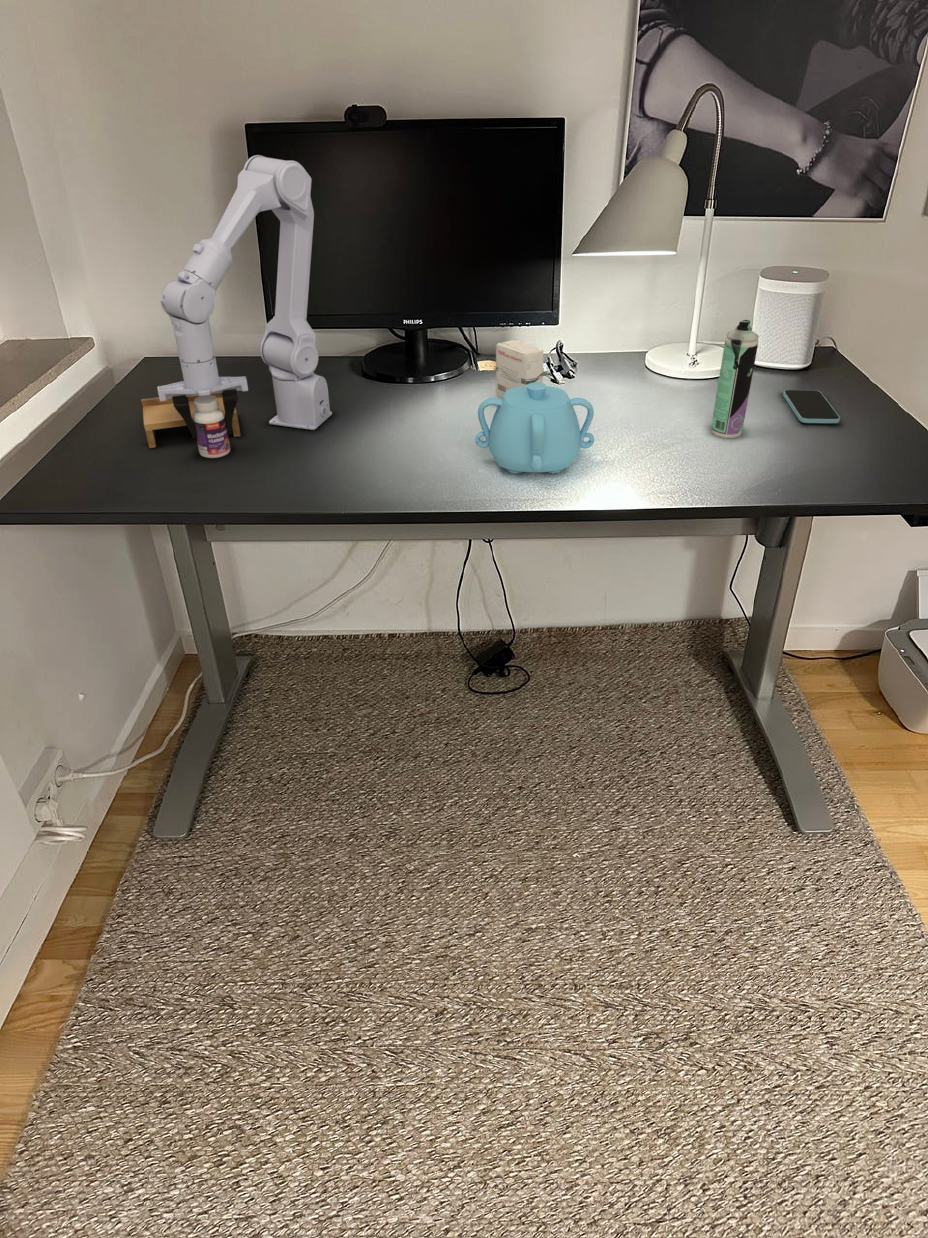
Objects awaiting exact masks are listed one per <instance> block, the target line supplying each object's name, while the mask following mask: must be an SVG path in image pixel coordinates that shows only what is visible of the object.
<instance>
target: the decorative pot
mask: <svg viewBox="0 0 928 1238" xmlns="http://www.w3.org/2000/svg"><path fill="white" fill-rule="evenodd" d="M490 406H497V407H496V409H495V411H494V414H493V416H492V419H491V423H490V428H489V425H488V424H487V421H486V416H485V409H486V408H487V407H490ZM574 406H581V407H584V408H585V409H586V410H587V413H586V417H585V419H584V420H585V421H584V422H583V424H582V426H581V427H580V422H579V419H578V415H577V413H576V410H575V408H574ZM594 415H595V411H594V407H593V404H592V403H591V402H590V401H589V400H587V399H585V398H583V397H573V398H570V397H569V395H568V393H567V392H566V391H565V390H564V389H562V388H559V387H555V386H547V384H545V383H544V382H543V383H539V382H533V383H530V384H528V385H527V386H522V387H515V388H511V389H509V390H507V391H506V392H505V394H504V395H503V397H502V399H499V398H496V397H490V398H486V399H485V400H483V401H482V402H481V403H480V404H479V405H478V409H477V418H478V421H479V425H480V427H481V430H482V431H479V432H478V433H476V435H475V437H474V438H475V439H474V441H475V444H476V445H477V446H478V447H480V448H482V449H487V448H488V449H489V452H490V454H491V456H492V458H493V459H494V461H495V462H496V464H497V465H498V466H500V467H501V468H503V469H506V470H507V472H509V473H511V474H520V473H523V472H524V473H549V474H559V473H561V472H562V470H564V469H568V468H569V467H571V466H572V465H573V463H575V461H576V459H577V458H578V457H579V455H580V453H581V449H589V448H592V446H593V445H594V443H595V436H594V435H593V434H592V432H588V430H589V429H590V427H591V425H592V422H593V419H594ZM482 437H485V440H482V439H481V438H482ZM585 438H588V440H587V441H585Z"/></svg>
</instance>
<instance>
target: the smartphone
mask: <svg viewBox="0 0 928 1238" xmlns="http://www.w3.org/2000/svg"><path fill="white" fill-rule="evenodd" d="M782 397H783V398H784V399H785V402H787V404H788V405H789V407H790V409H791V410H792V412H793V413H794V415H795V416H796V418H797V420H798V421H799V422H800V423H804V424H839V423H840V420H841V416H840V415H839V414H838V413H837V411H836V409H834V407H833V406H832V405H831V403H830V402H829V401H828V399H827V398H826V396H825V395H824V394H823V393H822V391H820V390H816V389H812V390H811V389H785V390H783V394H782Z"/></svg>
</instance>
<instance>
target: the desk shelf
mask: <svg viewBox="0 0 928 1238" xmlns="http://www.w3.org/2000/svg"><path fill="white" fill-rule="evenodd" d="M210 395H211V396H215V397H217V398H218V402H219V408H220V409H222V410H223V411H224V414H225V410H224V404H223V399H222V393H214V394H210ZM205 396H206V395H205ZM197 397H200V396H198V395H197V396H189V397H188V401H189V407H190V412H191V416H192V420H193V413H194V412H195V411H196V409H195V406H194V399H196V398H197ZM140 401H141V405H142V417H143V419H142V420H143V427H144V431H145V436H146V440H147V444H148V448H149V449H152V448H154V449H155V448H157V440H156V430H163V429H171V428H178V427H185V426H187V424H186V423H185V421H184V419H183V418H182V417H181V415H180V414H179V413H178V411H177V410H176V409H175V407H174V405H173V400H172V399H167V400H166V401H160V399H159V396H157V397H156V396H155V397H149V398H141V400H140ZM187 427H188V426H187ZM232 435H233V438H236V437H241V430H240V424H239V419H238V413H237V409H236V407H235V410H234V414H233V419H232Z"/></svg>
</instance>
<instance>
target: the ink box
mask: <svg viewBox="0 0 928 1238" xmlns="http://www.w3.org/2000/svg"><path fill="white" fill-rule="evenodd" d="M543 379H544V349H541V348H538V347H536V346H533V345H531V344H527V343H525V342H521V341H520V340H516V339H511V340H508V341H503V342H498V343H497V344H495V398H499V399H502V397H503V395H504V394H505V392H506V391H507V390H509V389H511V388H515V387H522V386H527V385H528V384H530V383H533V382H539V383H543V384H544V382H543V381H544V380H543Z"/></svg>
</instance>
